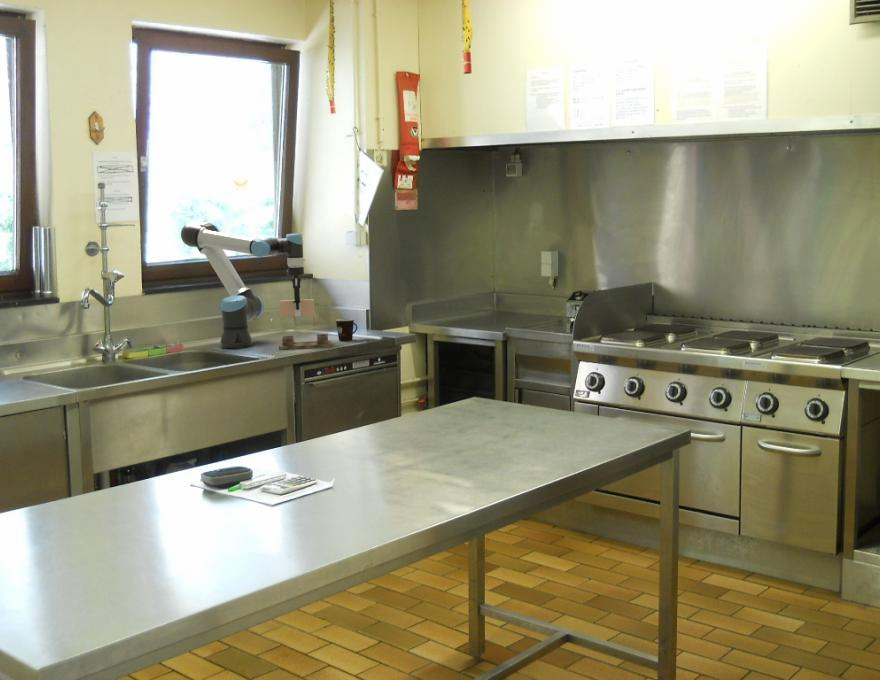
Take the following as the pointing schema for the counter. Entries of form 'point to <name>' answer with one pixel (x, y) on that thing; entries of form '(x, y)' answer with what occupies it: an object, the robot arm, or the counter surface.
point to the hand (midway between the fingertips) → (298, 315)
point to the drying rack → (305, 343)
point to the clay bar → (289, 308)
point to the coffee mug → (345, 329)
